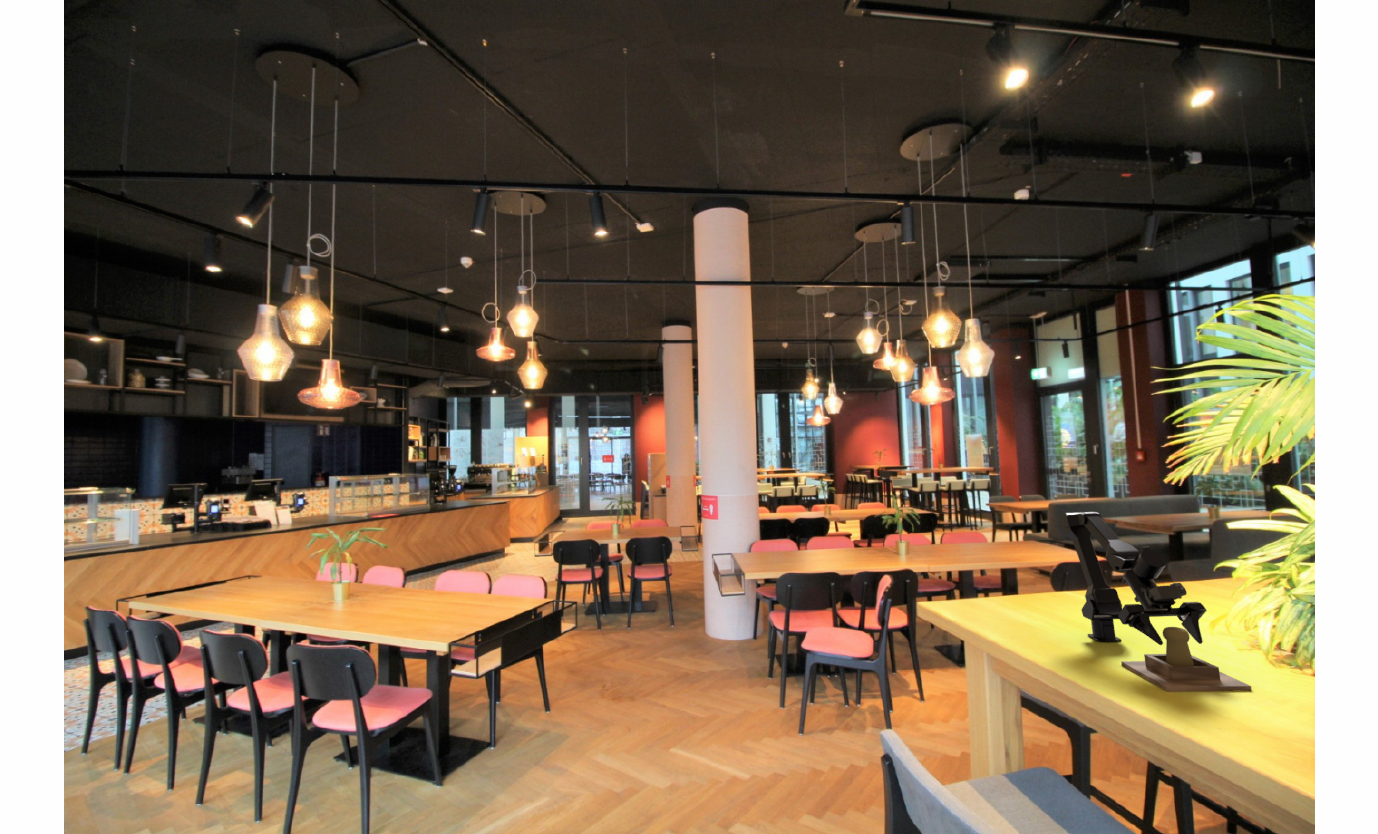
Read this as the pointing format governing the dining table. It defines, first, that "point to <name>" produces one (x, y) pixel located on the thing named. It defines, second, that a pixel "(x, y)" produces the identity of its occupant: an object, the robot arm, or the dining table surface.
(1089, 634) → the robot arm
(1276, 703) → the dining table surface
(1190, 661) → the cork
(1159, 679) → the holder board
